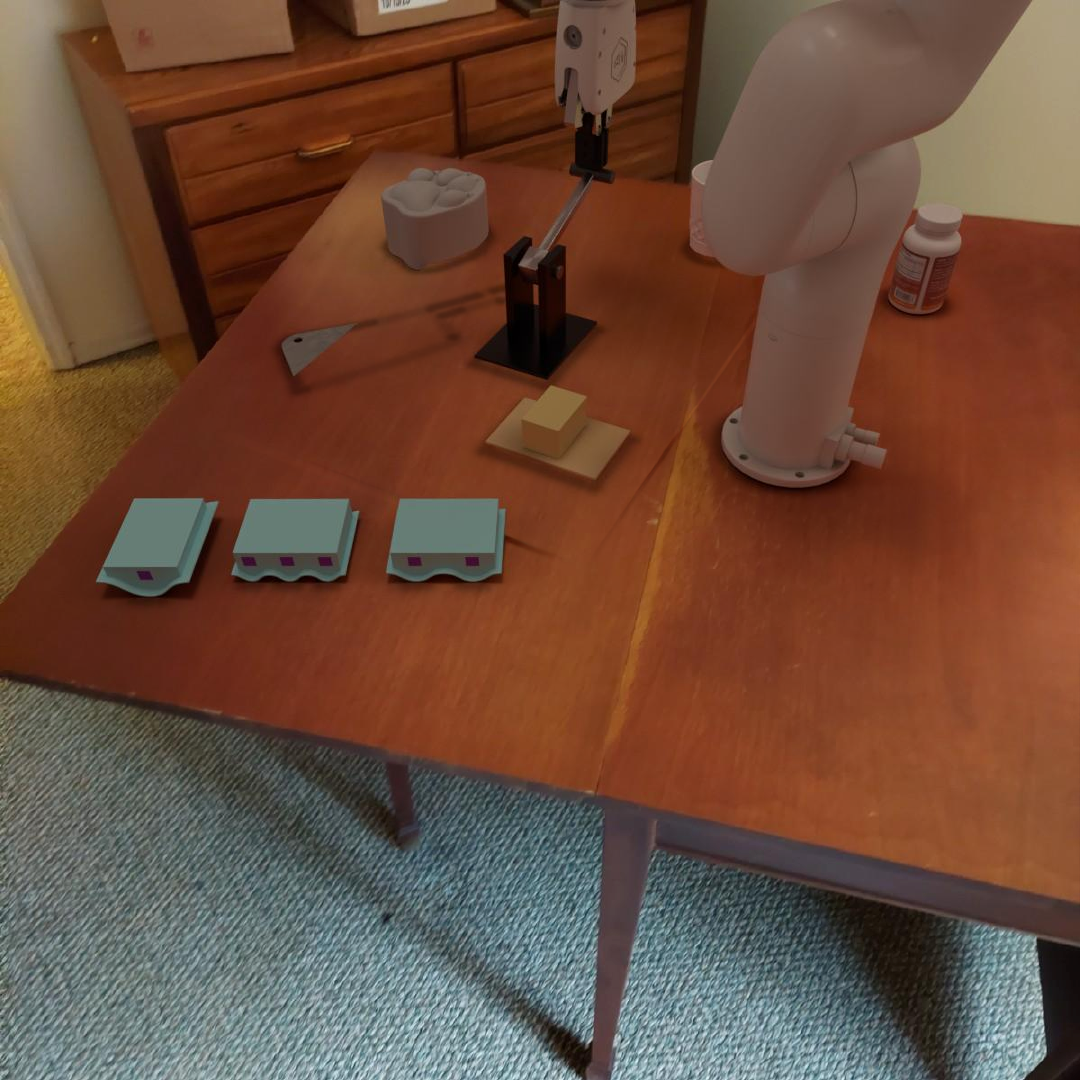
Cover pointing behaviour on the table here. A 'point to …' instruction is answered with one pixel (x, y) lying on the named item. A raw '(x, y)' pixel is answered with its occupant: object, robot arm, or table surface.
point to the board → (579, 458)
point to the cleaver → (310, 346)
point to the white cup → (698, 209)
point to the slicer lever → (562, 219)
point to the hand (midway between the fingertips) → (591, 165)
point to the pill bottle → (926, 259)
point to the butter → (554, 422)
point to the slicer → (535, 317)
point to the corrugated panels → (303, 541)
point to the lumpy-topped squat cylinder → (435, 215)
